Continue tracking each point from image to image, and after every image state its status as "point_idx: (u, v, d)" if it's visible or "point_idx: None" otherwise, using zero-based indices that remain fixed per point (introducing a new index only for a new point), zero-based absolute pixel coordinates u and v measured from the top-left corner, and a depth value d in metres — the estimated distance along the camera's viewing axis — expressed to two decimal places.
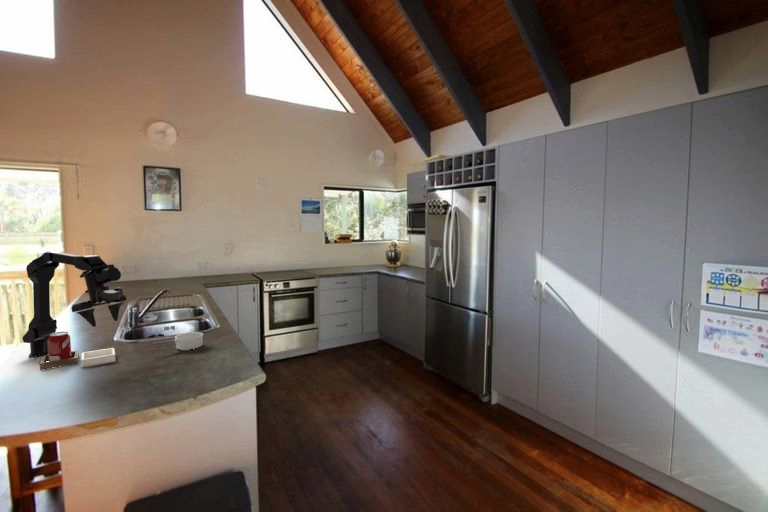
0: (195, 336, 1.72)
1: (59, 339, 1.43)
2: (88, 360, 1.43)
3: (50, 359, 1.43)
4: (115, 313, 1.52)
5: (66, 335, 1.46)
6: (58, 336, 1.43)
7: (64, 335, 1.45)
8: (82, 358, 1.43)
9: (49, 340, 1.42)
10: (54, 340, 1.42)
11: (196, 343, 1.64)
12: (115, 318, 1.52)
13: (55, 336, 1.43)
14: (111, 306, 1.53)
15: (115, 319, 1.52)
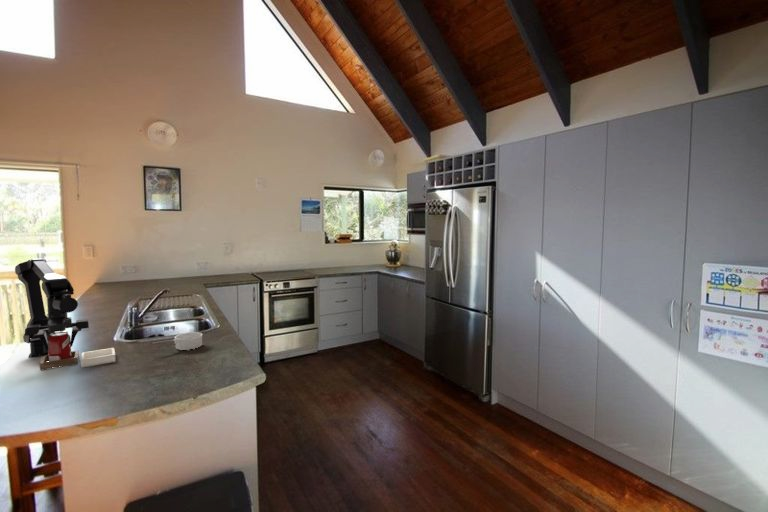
0: (194, 336, 1.72)
1: (59, 339, 1.43)
2: (88, 360, 1.43)
3: (50, 359, 1.43)
4: (71, 339, 1.47)
5: (66, 335, 1.46)
6: (58, 336, 1.43)
7: (64, 335, 1.45)
8: (82, 358, 1.43)
9: (49, 340, 1.42)
10: (54, 340, 1.42)
11: (196, 343, 1.64)
12: None
13: (55, 336, 1.43)
14: (72, 330, 1.49)
15: None
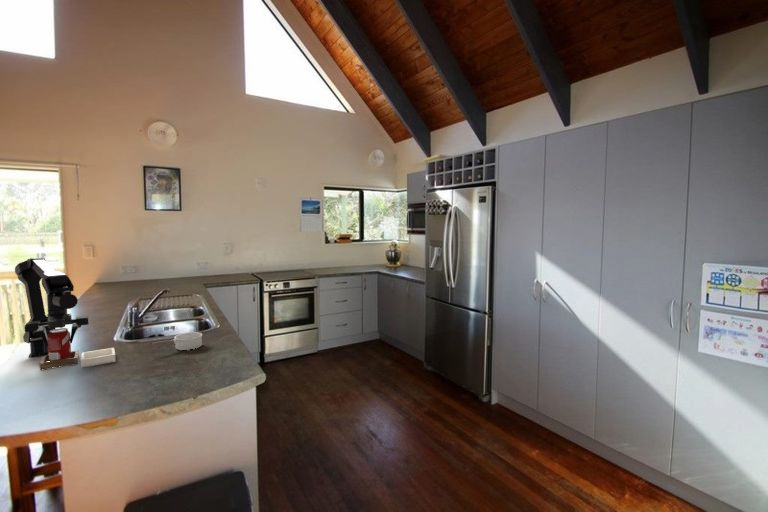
0: (194, 336, 1.72)
1: (59, 336, 1.43)
2: (88, 360, 1.43)
3: (50, 355, 1.43)
4: None
5: (66, 332, 1.46)
6: (58, 333, 1.43)
7: (64, 332, 1.45)
8: (82, 358, 1.43)
9: (49, 336, 1.42)
10: (54, 336, 1.42)
11: (195, 343, 1.64)
12: (70, 340, 1.48)
13: (55, 332, 1.43)
14: None
15: (70, 341, 1.48)
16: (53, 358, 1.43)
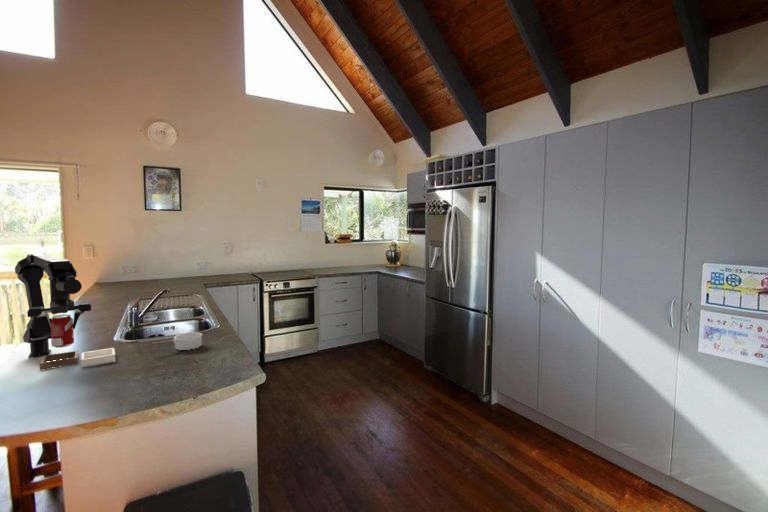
0: (194, 336, 1.71)
1: (61, 321, 1.43)
2: (88, 360, 1.43)
3: (52, 341, 1.43)
4: (73, 322, 1.47)
5: (69, 318, 1.45)
6: (60, 318, 1.43)
7: (66, 317, 1.44)
8: (82, 358, 1.43)
9: (52, 322, 1.42)
10: (56, 322, 1.42)
11: (195, 343, 1.64)
12: (73, 327, 1.47)
13: (57, 318, 1.42)
14: None
15: (73, 327, 1.47)
16: (56, 344, 1.42)
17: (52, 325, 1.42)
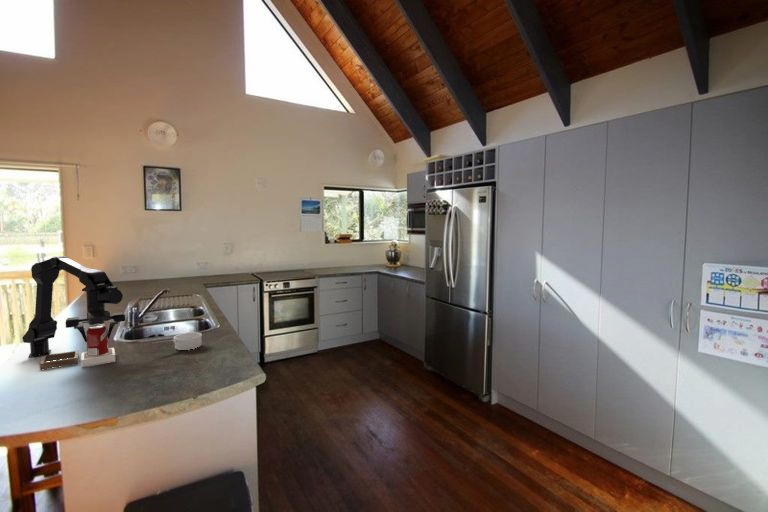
0: (194, 336, 1.71)
1: (98, 332, 1.46)
2: (88, 360, 1.43)
3: (89, 351, 1.45)
4: (108, 332, 1.50)
5: (104, 328, 1.48)
6: (97, 329, 1.46)
7: (102, 328, 1.47)
8: (82, 358, 1.43)
9: (88, 332, 1.45)
10: (93, 332, 1.45)
11: (195, 343, 1.63)
12: None
13: (94, 329, 1.45)
14: (109, 323, 1.51)
15: None
16: (92, 354, 1.45)
17: (88, 335, 1.45)
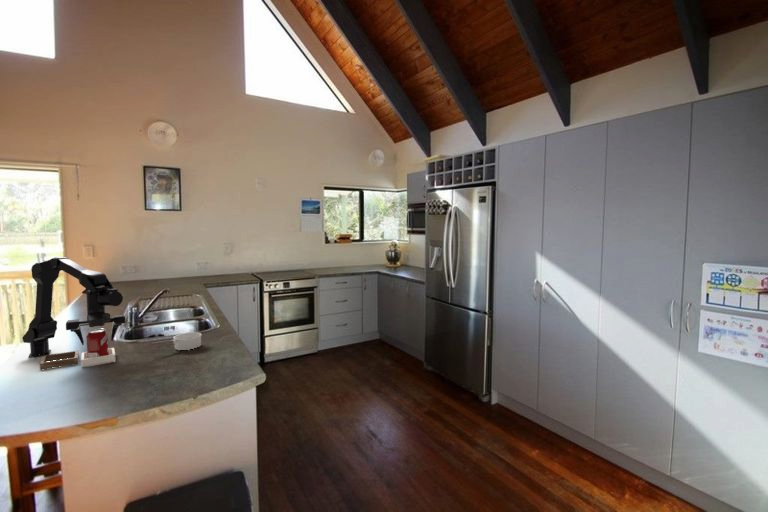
0: (193, 336, 1.71)
1: (98, 336, 1.46)
2: (88, 360, 1.43)
3: (89, 356, 1.46)
4: (111, 333, 1.51)
5: (104, 332, 1.48)
6: (97, 333, 1.46)
7: (102, 332, 1.48)
8: (82, 358, 1.43)
9: (88, 337, 1.45)
10: (93, 337, 1.45)
11: (194, 343, 1.63)
12: (111, 338, 1.51)
13: (94, 333, 1.45)
14: (112, 325, 1.52)
15: (111, 339, 1.51)
16: None
17: (89, 340, 1.45)
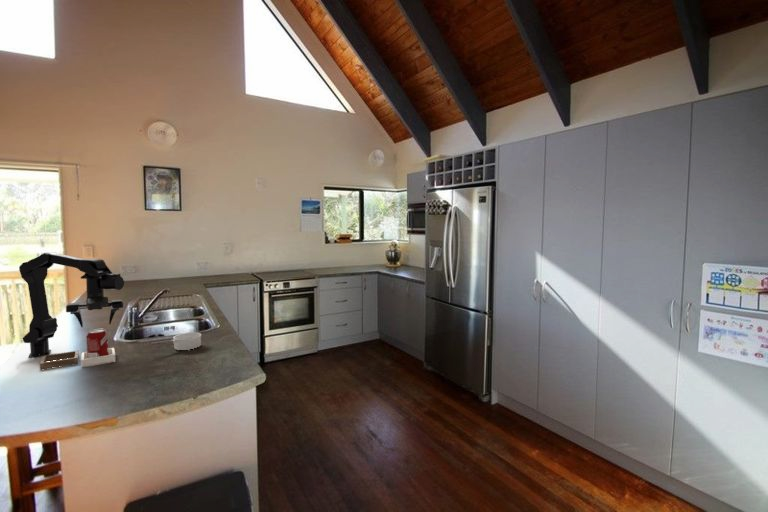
0: (193, 336, 1.71)
1: (98, 336, 1.46)
2: (88, 360, 1.43)
3: (89, 356, 1.46)
4: None
5: (104, 332, 1.48)
6: (97, 333, 1.46)
7: (102, 332, 1.47)
8: (82, 358, 1.43)
9: (88, 337, 1.45)
10: (93, 337, 1.45)
11: (194, 343, 1.63)
12: (109, 322, 1.58)
13: (94, 333, 1.45)
14: None
15: (109, 322, 1.58)
16: None
17: (89, 340, 1.45)
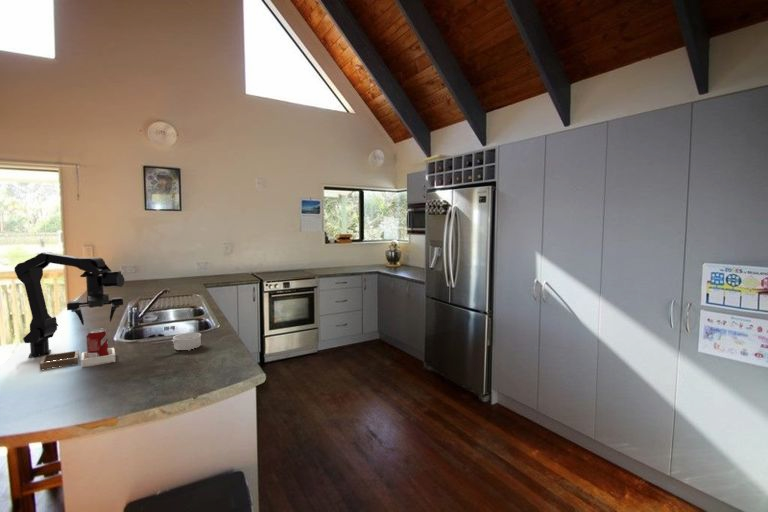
0: (193, 337, 1.71)
1: (98, 336, 1.46)
2: (88, 360, 1.43)
3: (89, 356, 1.46)
4: (110, 315, 1.60)
5: (104, 332, 1.48)
6: (97, 333, 1.46)
7: (102, 332, 1.47)
8: (82, 358, 1.43)
9: (88, 337, 1.45)
10: (93, 337, 1.45)
11: (194, 344, 1.63)
12: None
13: (94, 333, 1.45)
14: None
15: None
16: None
17: (89, 340, 1.45)
